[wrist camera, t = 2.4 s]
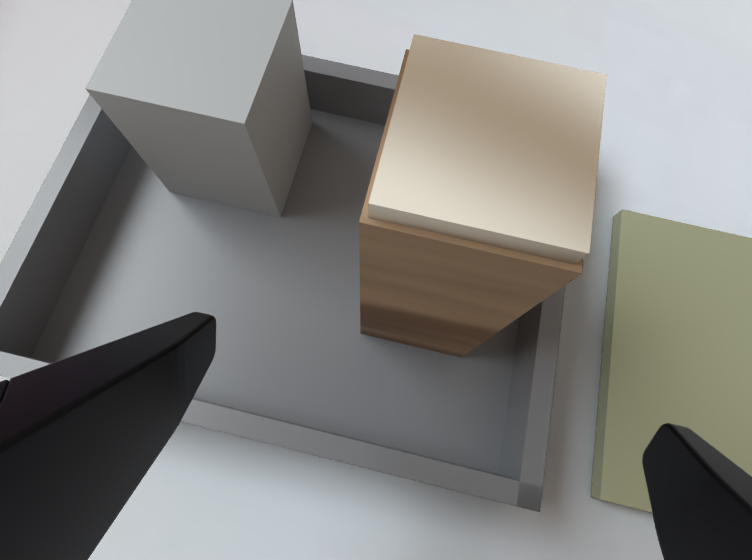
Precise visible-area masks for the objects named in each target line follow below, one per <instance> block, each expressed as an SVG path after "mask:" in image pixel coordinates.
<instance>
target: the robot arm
mask: <svg viewBox="0 0 752 560" xmlns="http://www.w3.org/2000/svg"><path fill="white" fill-rule="evenodd" d="M215 351H216V318H215V317H214V316H213V315H209V314H205V313H201V312H192V313H189V314H186V315H184V316H181V317H178V318H175V319H173V320H170V321H167V322H164V323H162V324H159V325H156V326H153V327H151V328H148V329H145V330H142V331H140V332H137V333H134V334H131V335H128V336H126V337H123V338H120V339H117V340H115V341H112V342H109V343H106V344H104V345H101V346H98V347H95V348H93V349H90V350H87V351H84V352H82V353H79V354H76V355H73V356H70V357H68V358H65V359H62V360H59V361H57V362H54V363H51V364H48V365H46V366H43V367H40V368H37V369H34V370H32V371H29V372H26V373H23V374H21V375H18V376H15V377H13V378H11V379H10V381H8V380H4V381H1V382H0V560H88V558H89V557H90V555H91V554H92V553H93V551H94V550H95V548H96V547H97V545H98V544H99V542H100V541H101V539H102V538H103V536H104V535H105V533H106V532H107V530H108V529H109V527H110V526H111V524H112V523H113V521H114V520H115V519H116V517H117V516H118V514H119V513H120V511H121V510H122V508H123V507H124V505H125V504H126V502H127V501H128V499H129V498H130V496H131V495H132V493H133V492H134V490H135V489H136V487H137V486H138V485H139V483H140V482H141V480H142V479H143V477H144V476H145V474H146V473H147V471H148V470H149V468H150V467H151V465H152V464H153V462H154V461H155V459H156V458H157V456H158V455H159V453H160V452H161V451H162V449H163V448H164V446H165V445H166V443H167V442H168V440H169V439H170V437H171V436H172V434H173V433H174V431H175V430H176V428H177V426H178V425H179V423H180V422H181V420H182V418H183V416H184V414H185V413H186V411H187V409H188V407H189V405H190V403H191V401H192V399H193V397H194V395H195V393H196V391H197V390H198V388H199V386H200V384H201V382H202V380H203V378H204V376H205V374H206V372H207V370H208V369H209V367H210V365H211V363H212V361H213V358H214V356H215ZM642 465H643V470H644V475H645V479H646V484H647V489H648V494H649V499H650V504H651V508H652V513H653V518H654V523H655V528H656V532H657V536H658V540H659V544H660V547H661V551H662V554H663V558H664V560H752V476H750V475H749V474H748V473H746V472H745V471H744V470H743V469H741V468H740V467H739V466H737V465H736V464H735V463H734V462H732V461H731V460H730V459H728V458H727V457H726V456H725V455H723V454H722V453H721V452H719V451H718V450H717V449H715V448H714V447H713V446H712V445H710V444H709V443H708V442H706V441H705V440H704V439H703V438H701V437H700V436H699V435H697V434H696V433H695V432H694V431H692V430H691V429H689V428H687V427H684V426H680V425H675V424H671V423H665V424H663V425H661V426H660V427H659V429H658V430H657V432H656V433H655V435H654V437H653V438H652V440H651V441H650V443H649V444H648V446H647V447H646V449H645V451H644V453H643V457H642Z"/></svg>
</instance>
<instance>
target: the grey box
mask: <svg viewBox="0 0 752 560" xmlns="http://www.w3.org/2000/svg"><path fill="white" fill-rule="evenodd" d="M85 89H86V90H87V91H88V92H89V94H90V95H91V96H92V97H93V99H94V100H95V101H96V102H97V103H98V105H99V106H100V107H101V108H102V110H103V111H104V112H105V113H106V115H107V116H108V117H109V118H110V119H111V121H112V122H113V123H114V124H115V126H116V127H117V128H118V129H119V130H120V132H121V133H122V134H123V135H124V137H125V138H126V139H127V140H128V141H129V143H130V144H131V145H132V146H133V148H134V149H135V150H136V151H137V153H138V154H139V155H140V156H141V157H142V159H143V160H144V161H145V162H146V164H147V165H148V166H149V167H150V168H151V170H152V171H153V172H154V173H155V175H156V176H157V177H158V178H159V179H160V181H161V182H162V183H163V184H164V186H165V187H166V188H167V189H168V191H169V192H172V193H177V194H181V195H185V196H190V197H194V198H198V199H203V200H207V201H211V202H216V203H220V204H224V205H229V206H233V207H237V208H242V209H246V210H250V211H255V212H259V213H263V214H268V215H272V216H276V217H281V215H282V212H283V209H284V206H285V203H286V200H287V197H288V194H289V191H290V188H291V185H292V182H293V179H294V176H295V173H296V170H297V167H298V164H299V161H300V158H301V155H302V152H303V149H304V146H305V143H306V140H307V137H308V134H309V131H310V128H311V125H312V117H311V111H310V105H309V99H308V92H307V86H306V80H305V74H304V68H303V61H302V55H301V49H300V43H299V37H298V31H297V24H296V18H295V12H294V6H293V0H132V2H131V4H130V5H129V7H128V9H127V11H126V13H125V15H124V17H123V19H122V20H121V22H120V24H119V26H118V28H117V30H116V32H115V34H114V35H113V37H112V39H111V41H110V43H109V45H108V47H107V49H106V50H105V52H104V54H103V56H102V58H101V60H100V62H99V64H98V65H97V67H96V69H95V71H94V73H93V75H92V77H91V79H90V80H89V82H88V84H87V86H86V88H85Z"/></svg>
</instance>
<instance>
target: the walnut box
mask: <svg viewBox="0 0 752 560" xmlns="http://www.w3.org/2000/svg"><path fill="white" fill-rule="evenodd" d="M606 77H607V75H606V74H601V73H597V72H592V71H587V70H582V69H578V68H573V67H568V66H563V65H559V64H554V63H549V62H544V61H539V60H535V59H530V58H525V57H520V56H516V55H511V54H506V53H501V52H497V51H492V50H487V49H482V48H477V47H473V46H468V45H463V44H458V43H454V42H449V41H444V40H439V39H435V38H430V37H425V36H420V35H415V34H414V36H413V40H412V43H411V47H410V50H407V49H406V52H405V55H404V59H403V63H402V66H401V70H400V74H399V77H398V81H397V85H396V88H395V92H394V95H393V99H392V103H391V106H390V110H389V114H388V117H387V121H386V125H385V128H384V132H383V136H382V139H381V143H380V147H379V150H378V154H377V158H376V161H375V165H374V169H373V172H372V176H371V180H370V183H369V187H368V191H367V194H366V198H365V202H364V205H363V209H362V213H361V216H360V220H359V264H360V334H364V335H369V336H373V337H377V338H381V339H385V340H389V341H394V342H398V343H402V344H406V345H410V346H414V347H419V348H423V349H427V350H431V351H435V352H439V353H444V354H448V355H452V356H456V357H460V358H462V357H463V356H465V355H466V354H467V353H469V352H470V351H472V350H473V349H475V348H476V347H477V346H479V345H480V344H482V343H483V342H485V341H486V340H487V339H489V338H490V337H492V336H493V335H495V334H496V333H497V332H499V331H500V330H502V329H503V328H504V327H506V326H507V325H509V324H510V323H512V322H513V321H514V320H516V319H517V318H519V317H520V316H522V315H523V314H524V313H526V312H527V311H529V310H530V309H532V308H533V307H534V306H536V305H537V304H539V303H540V302H542V301H543V300H544V299H546V298H547V297H549V296H550V295H552V294H553V293H554V292H556V291H557V290H559V289H560V288H562V287H563V286H564V285H566V284H567V283H569V282H570V281H572V280H573V279H574V278H576V277H577V276H579V275H580V274H582V267H583V258H584V257H586V256H587V255H588V254H589V253H590V243H591V233H592V222H593V212H594V202H595V191H596V181H597V170H598V160H599V150H600V139H601V129H602V119H603V108H604V98H605V87H606Z"/></svg>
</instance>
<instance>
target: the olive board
mask: <svg viewBox="0 0 752 560" xmlns="http://www.w3.org/2000/svg"><path fill="white" fill-rule="evenodd" d="M665 423H671V424H675V425H680V426H684V427H687V428H689V429H691V430H692V431H694V432H695V433H696V434H697V435H699V436H700V437H701V438H703V439H704V440H705V441H706V442H708V443H709V444H710V445H712V446H713V447H714V448H715V449H717V450H718V451H719V452H721V453H722V454H723V455H725V456H726V457H727V458H728V459H730V460H731V461H732V462H734V463H735V464H736V465H737V466H739V467H740V468H741V469H743V470H744V471H745V472H746V473H748V474H749V475H750V476H752V238H748V237H743V236H739V235H734V234H730V233H725V232H721V231H716V230H712V229H707V228H703V227H698V226H694V225H689V224H685V223H680V222H676V221H671V220H667V219H662V218H658V217H653V216H649V215H644V214H640V213H635V212H631V211H626V210H621V211H620V212H618V213H617V214H616V215H615V216H614V217H613V226H612V238H611V250H610V263H609V275H608V287H607V300H606V312H605V324H604V337H603V349H602V361H601V374H600V386H599V398H598V410H597V423H596V435H595V447H594V460H593V472H592V484H591V497H593V498H596V499H600V500H603V501H607V502H611V503H615V504H619V505H623V506H627V507H631V508H635V509H639V510H643V511H647V512H651V513H652V508H651V504H650V499H649V494H648V489H647V484H646V479H645V475H644V470H643V465H642V457H643V453H644V451H645V449H646V447H647V446H648V444H649V443H650V441H651V440H652V438H653V437H654V435H655V433H656V432H657V430H658V429H659V427H660V426H661V425H663V424H665Z"/></svg>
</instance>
